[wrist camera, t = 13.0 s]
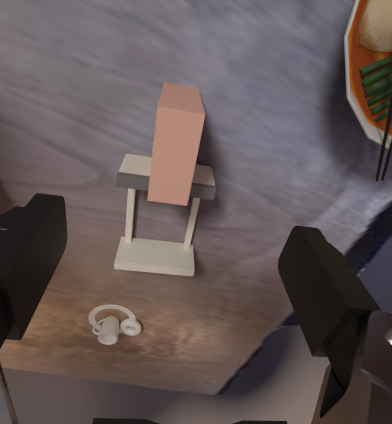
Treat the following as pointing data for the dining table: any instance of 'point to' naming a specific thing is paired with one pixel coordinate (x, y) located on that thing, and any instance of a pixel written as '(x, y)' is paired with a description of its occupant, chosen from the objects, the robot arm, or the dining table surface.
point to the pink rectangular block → (175, 144)
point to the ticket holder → (152, 249)
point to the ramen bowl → (371, 70)
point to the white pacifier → (113, 325)
